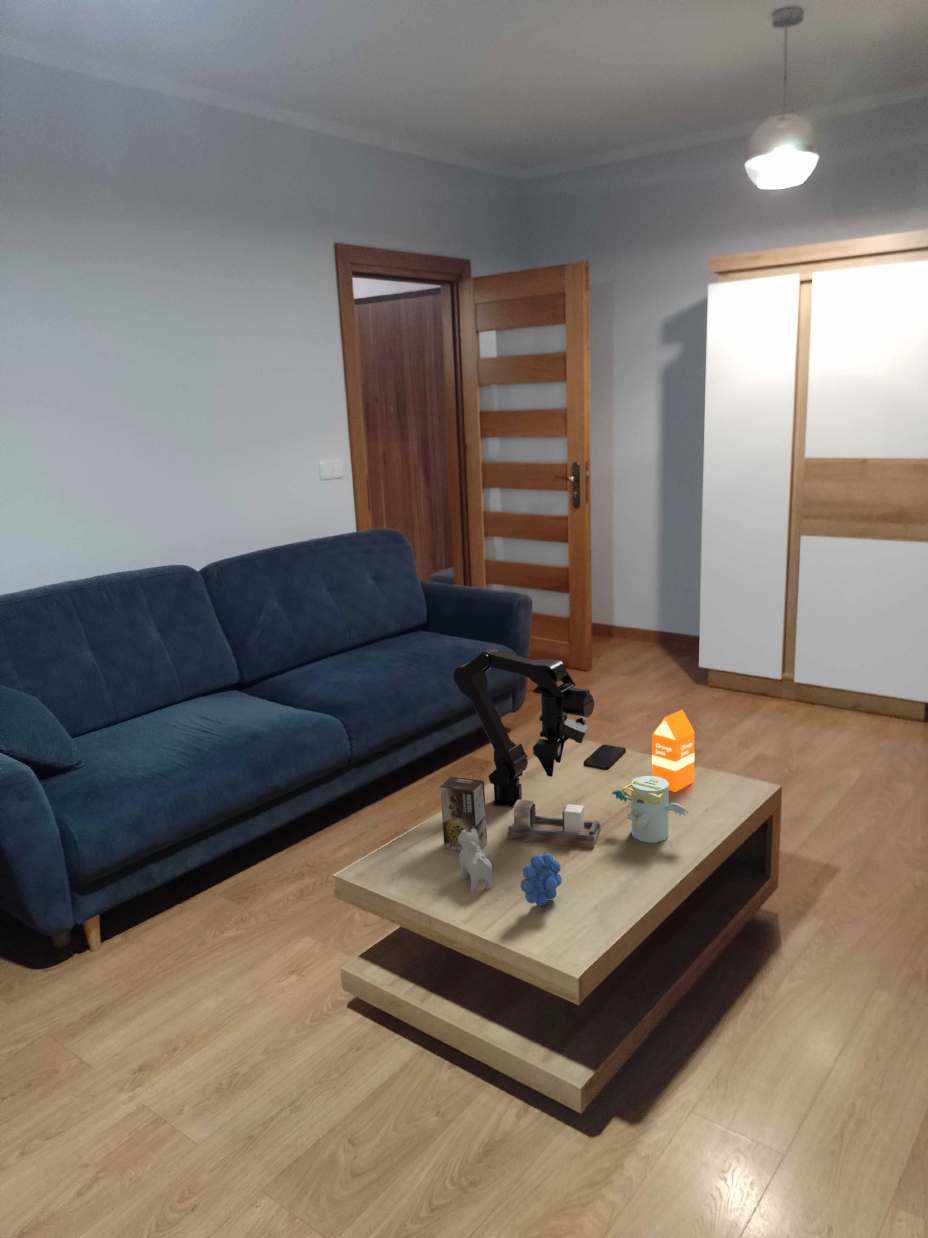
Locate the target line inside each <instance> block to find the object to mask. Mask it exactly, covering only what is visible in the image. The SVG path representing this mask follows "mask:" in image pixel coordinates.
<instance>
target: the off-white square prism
mask: <svg viewBox="0 0 928 1238" xmlns="http://www.w3.org/2000/svg"><path fill="white" fill-rule="evenodd" d="M562 819H563V830H565V832H572V833H583V831H584V821H585V807H584V805H581V804H569V803H567V805H566V806H564V809H563V810H562Z"/></svg>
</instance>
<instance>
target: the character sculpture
mask: <svg viewBox="0 0 928 1238" xmlns="http://www.w3.org/2000/svg"><path fill="white" fill-rule="evenodd" d="M625 790H627V791H628V790H629V791H630V792H631V793H630V794H631V795H630V794H629V793H628V792H626V791H625ZM669 791H670V790H669V784H668V782H667V780H665V779H663V778H660V777H655V776H652V775H644V776H643V775H642V776H637V777H636V778H633V779H632V780H631V782H630V783H629V784H627V785H625V786H624V787H623V786H622V787H621V789H616V790H613V792H612V793H611V795H615V799H616V800H617V799H619V800H620V801H621V802H623V801H624V802H625V803H626V802H627V800H629V801H630V802H631V812H630V813H629V814H627V816H626V819H627V820H630V821H631V835H632V837H633V838H634V839H636V840H637V839H638V841H640V840H641V841H640V842H643V841H645V843H660V842H662V840H663V841H665V840H667V839H668V838H669V811H673V812H674V814H675V815H677V814H679V816H681V815H683V816H684V817H685V816H686V814H689V810H688V809H687V808H686V807H684V806H683V805H682V804H681V805H680V804H679V803H676V802H670V804H669V799H670V797H669ZM666 838H667V839H666ZM659 841H660V842H659Z"/></svg>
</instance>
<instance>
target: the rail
mask: <svg viewBox="0 0 928 1238" xmlns="http://www.w3.org/2000/svg"><path fill="white" fill-rule="evenodd" d="M534 802H535V801H534V800H526V799H521V800H517V802H516V803H515V805H514V807H513V824H512V825H509V826H508V827H507V830H508V832H507V839H508V840H514V841H515V840H516V841H523V842H524V841H526V842H532V843H543V844H551V845H561V846H569V847H578V848H586V849H587V848H589V849H594V848H595V845H596V844H597V841H598V838H599V836H600V834H601V831H602V830H601V829H602V827H601V823H600V821H599V820H595V819H594V820H593V821H592V820H591V821H590V820H584V831H583V833H572V832H565V830H563V817H562V818H560V817H551V816H541V815H536V804H535V803H534Z"/></svg>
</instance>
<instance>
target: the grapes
mask: <svg viewBox="0 0 928 1238" xmlns="http://www.w3.org/2000/svg"><path fill="white" fill-rule="evenodd" d="M561 868H562V867H561V864H560V863H559V861H558V860H555V859H554V857H553V854H552V853H550V852H544V853H543V854H542V855H540V854H534V855H533V856H531V858H530V864H526V865H525V866H523V867H522V874H523V877H524V879H522V881H521V882H520V889H521V892H522V893H523V892H524V893H525V897H524V898H525V900H526V902H527V903H529V904H536V905H537V906H539V907H543V906H545V905H546V904H547V902H548V900H553V899H555V898H556V896H557V893H558V892H557V888H558V887H559V886H561V885H562V882H563V881H562V880H563V878H562V876H561V875H560V874H559V873H560V872H561Z"/></svg>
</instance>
